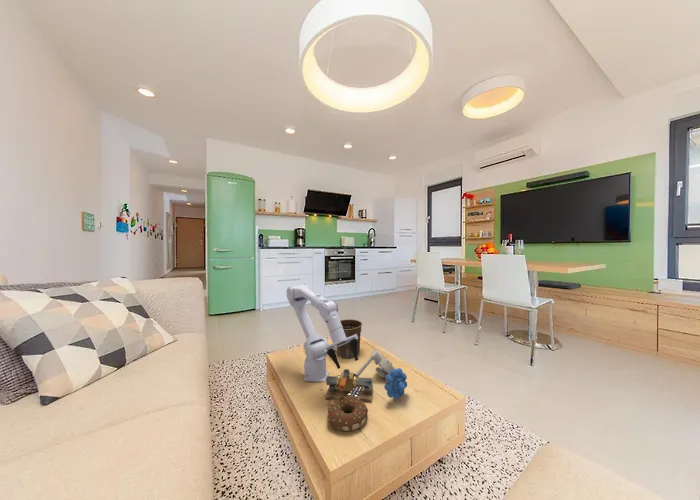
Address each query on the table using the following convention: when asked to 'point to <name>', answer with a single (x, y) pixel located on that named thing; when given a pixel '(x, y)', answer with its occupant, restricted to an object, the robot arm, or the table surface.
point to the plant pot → (349, 329)
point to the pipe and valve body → (349, 383)
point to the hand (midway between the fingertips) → (348, 364)
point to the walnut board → (339, 393)
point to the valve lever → (344, 379)
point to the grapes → (395, 383)
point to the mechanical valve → (381, 361)
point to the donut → (343, 419)
